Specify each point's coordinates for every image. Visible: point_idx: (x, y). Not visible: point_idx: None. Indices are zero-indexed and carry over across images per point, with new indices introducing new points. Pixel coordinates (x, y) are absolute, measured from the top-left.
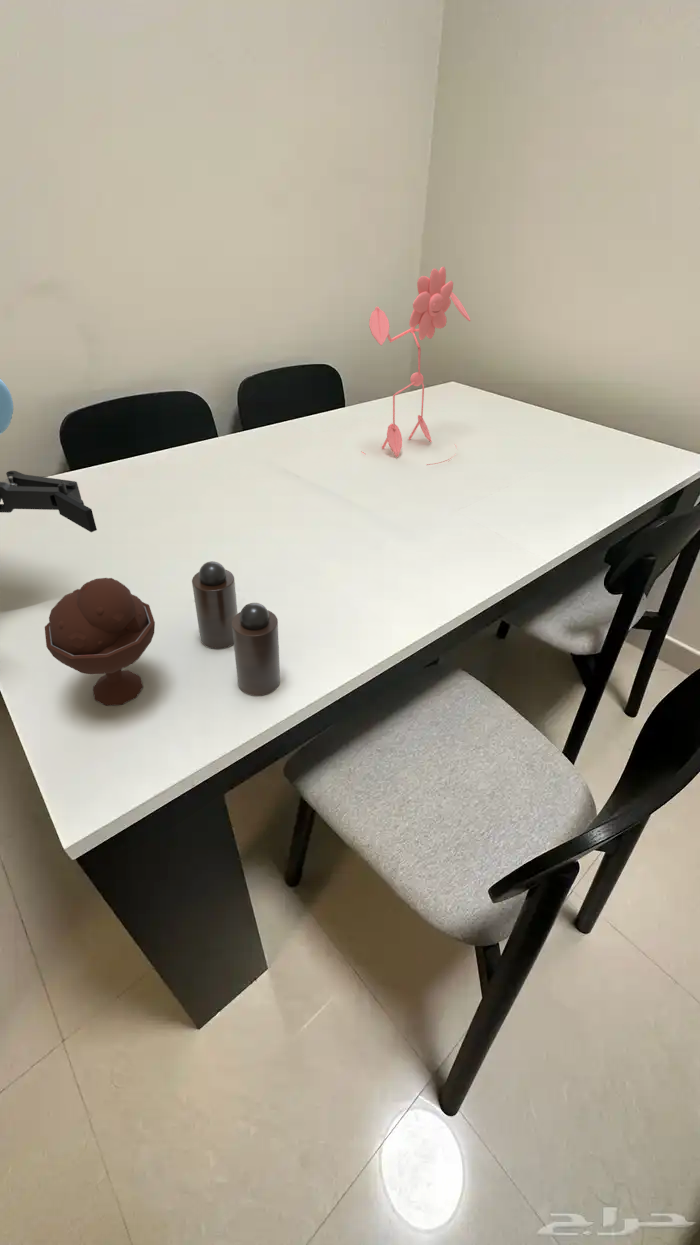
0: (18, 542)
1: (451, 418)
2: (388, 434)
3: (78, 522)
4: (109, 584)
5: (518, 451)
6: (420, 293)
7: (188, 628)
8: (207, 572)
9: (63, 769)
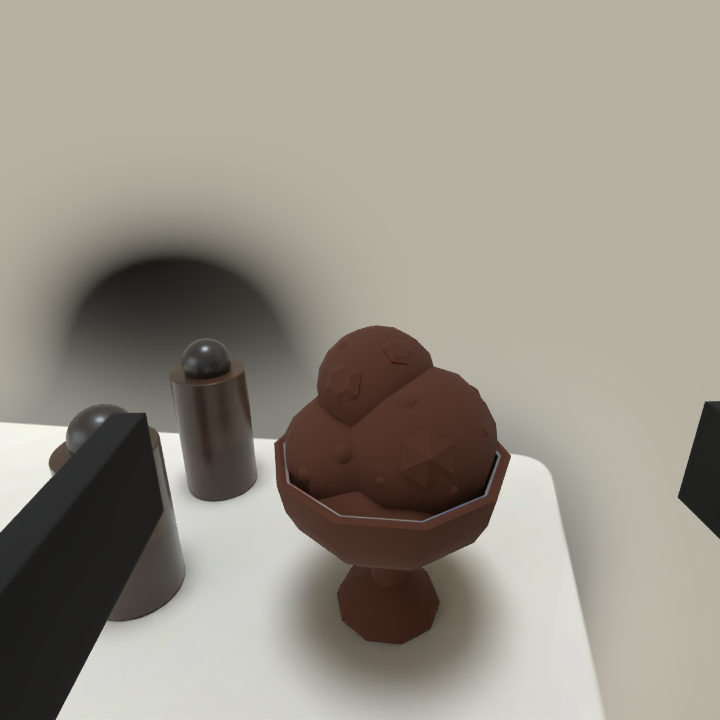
0: None
1: None
2: None
3: (120, 571)
4: (361, 329)
5: None
6: None
7: (135, 655)
8: (125, 411)
9: (535, 522)
